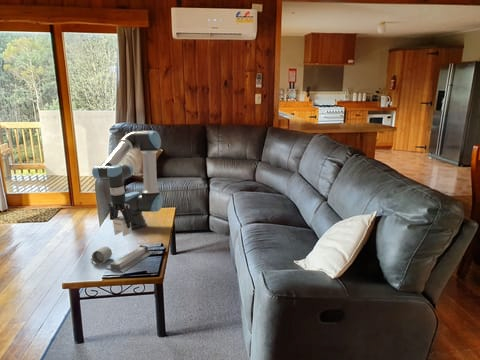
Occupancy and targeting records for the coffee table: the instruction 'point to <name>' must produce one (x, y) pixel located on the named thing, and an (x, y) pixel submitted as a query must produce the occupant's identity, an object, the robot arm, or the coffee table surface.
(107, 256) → the ceramic mug
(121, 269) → the rail base
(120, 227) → the module
